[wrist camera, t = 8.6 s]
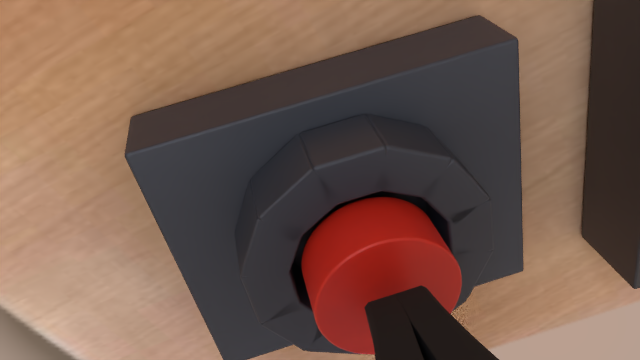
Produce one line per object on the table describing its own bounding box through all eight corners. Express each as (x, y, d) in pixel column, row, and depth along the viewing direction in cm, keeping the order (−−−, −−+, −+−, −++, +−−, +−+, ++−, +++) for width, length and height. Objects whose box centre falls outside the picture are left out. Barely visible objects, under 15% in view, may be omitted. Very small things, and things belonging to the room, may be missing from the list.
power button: (317, 322, 16) (332, 373, 14) (285, 221, 14) (297, 268, 12) (441, 282, 16) (468, 328, 14) (427, 177, 14) (456, 218, 12)
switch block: (221, 317, 20) (230, 417, 16) (130, 115, 15) (115, 196, 12) (493, 231, 20) (555, 310, 17) (480, 13, 16) (560, 62, 12)
